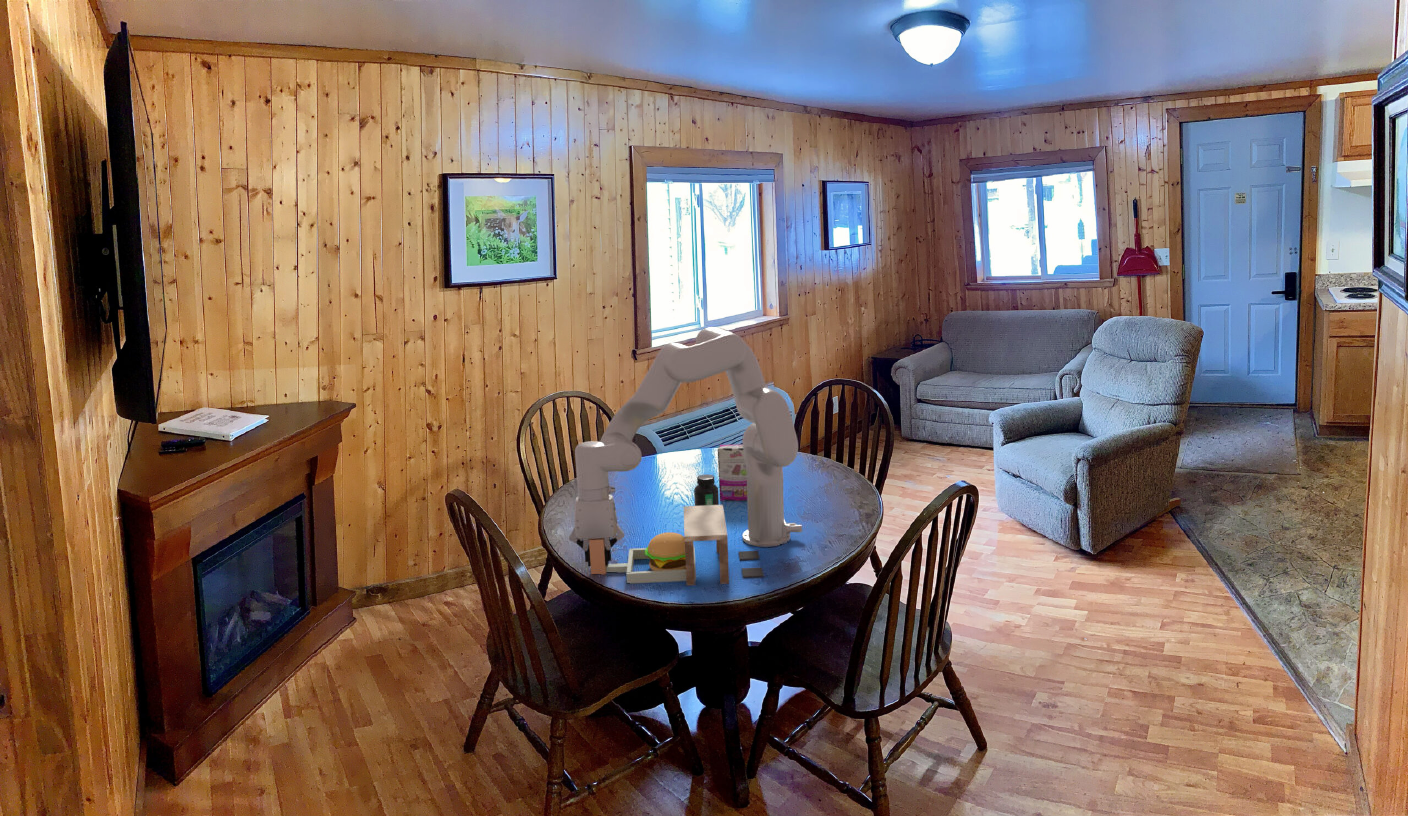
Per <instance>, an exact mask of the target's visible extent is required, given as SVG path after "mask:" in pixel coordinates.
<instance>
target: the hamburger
mask: <svg viewBox="0 0 1408 816" xmlns="http://www.w3.org/2000/svg"><path fill="white" fill-rule="evenodd" d="M645 548H646V550H645V555H646V556H648V557H649V559H648V560H649V562H648V565H649V568H650V569H651V571H662V570H683V569H686V560H685V537H684V535H682V534H680V533H679V532H670V531H669V532H668V531H667V532H662V533H659V534H656V535H655V536H654V537H653V538H651V540H650V541H649V543H648V545H647V547H645Z"/></svg>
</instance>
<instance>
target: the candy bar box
mask: <svg viewBox="0 0 1408 816" xmlns="http://www.w3.org/2000/svg"><path fill="white" fill-rule="evenodd" d="M717 460H718V461H717V465H718V466H717V467H718V486H719V487H718V492H719V502H720V501H721V502H747V471H746V461H745V456H744V450H743V444H719V447H717Z"/></svg>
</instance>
